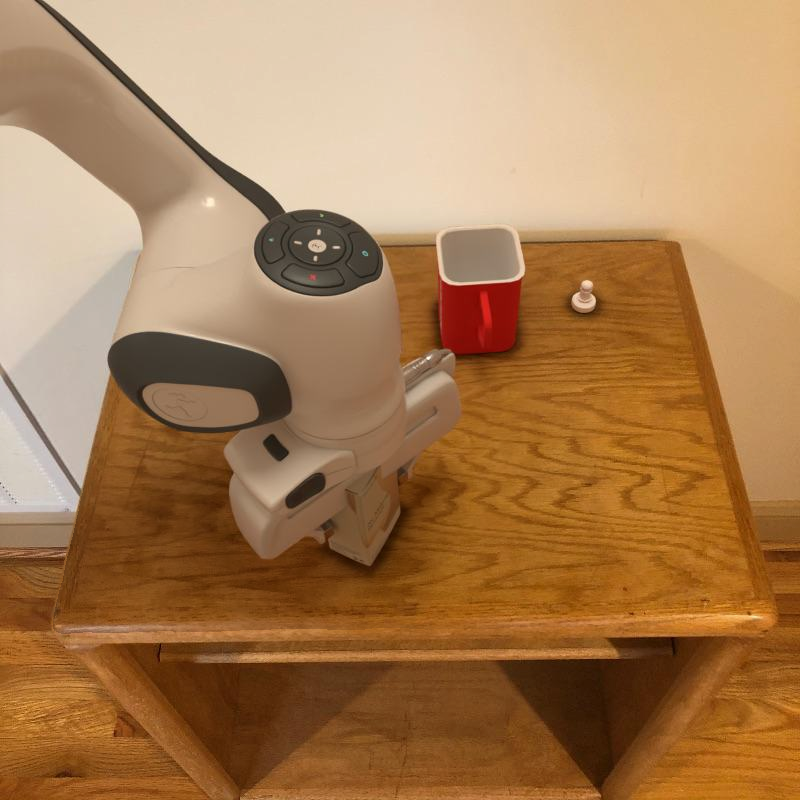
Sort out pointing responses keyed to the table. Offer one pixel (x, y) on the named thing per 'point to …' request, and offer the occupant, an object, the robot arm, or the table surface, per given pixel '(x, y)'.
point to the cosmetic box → (366, 517)
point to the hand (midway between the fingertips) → (361, 505)
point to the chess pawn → (584, 298)
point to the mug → (479, 287)
